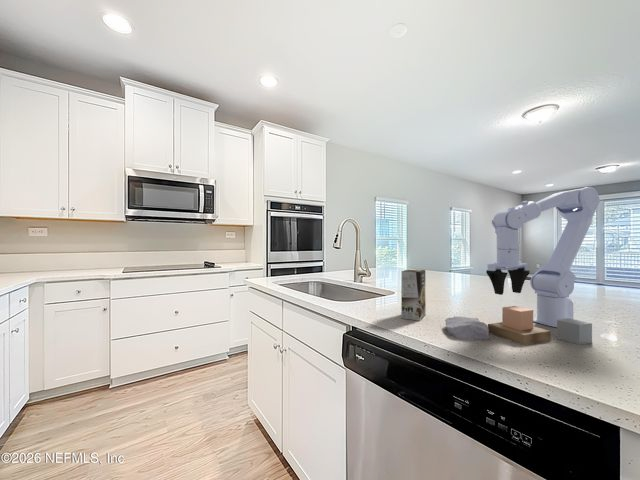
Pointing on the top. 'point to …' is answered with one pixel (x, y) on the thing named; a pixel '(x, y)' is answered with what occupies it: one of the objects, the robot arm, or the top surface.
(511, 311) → the terracotta cube
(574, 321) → the slate grey cube
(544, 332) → the walnut block
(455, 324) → the stone block
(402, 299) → the coffee box
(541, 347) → the top surface
